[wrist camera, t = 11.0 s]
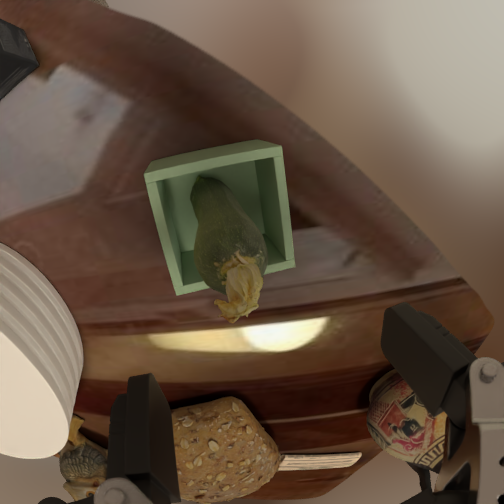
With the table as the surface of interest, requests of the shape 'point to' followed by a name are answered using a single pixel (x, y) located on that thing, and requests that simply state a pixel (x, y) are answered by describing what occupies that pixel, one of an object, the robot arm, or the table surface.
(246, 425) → the bread
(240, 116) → the table surface
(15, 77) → the box
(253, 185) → the bin
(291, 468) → the newspaper
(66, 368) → the plate stack
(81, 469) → the figurine
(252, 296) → the vegetable
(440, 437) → the ceramic jug
